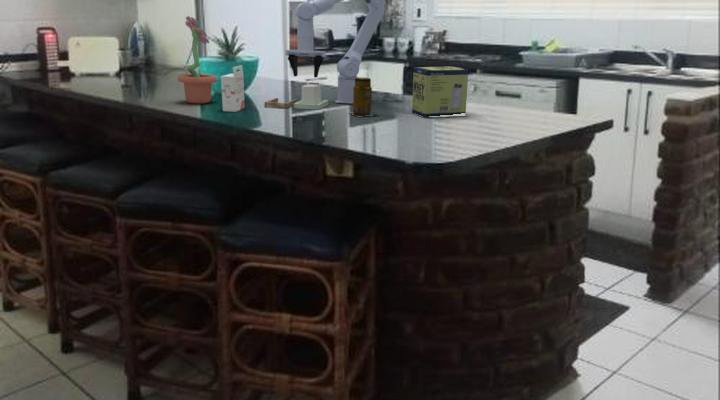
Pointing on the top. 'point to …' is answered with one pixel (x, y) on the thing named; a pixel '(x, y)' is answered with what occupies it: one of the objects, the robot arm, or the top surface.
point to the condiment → (362, 97)
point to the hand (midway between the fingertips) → (305, 76)
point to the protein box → (439, 90)
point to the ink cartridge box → (233, 90)
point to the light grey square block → (311, 93)
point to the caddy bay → (275, 104)
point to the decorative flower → (195, 83)
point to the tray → (311, 105)
